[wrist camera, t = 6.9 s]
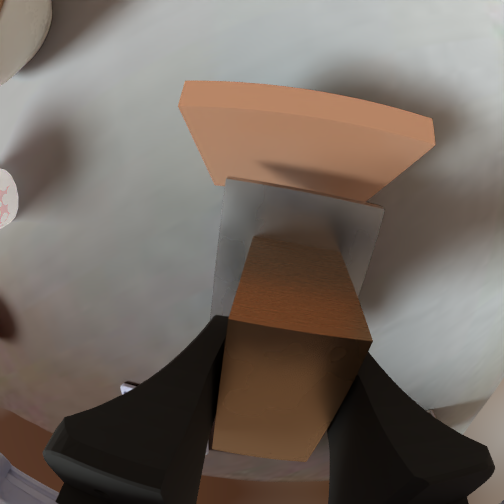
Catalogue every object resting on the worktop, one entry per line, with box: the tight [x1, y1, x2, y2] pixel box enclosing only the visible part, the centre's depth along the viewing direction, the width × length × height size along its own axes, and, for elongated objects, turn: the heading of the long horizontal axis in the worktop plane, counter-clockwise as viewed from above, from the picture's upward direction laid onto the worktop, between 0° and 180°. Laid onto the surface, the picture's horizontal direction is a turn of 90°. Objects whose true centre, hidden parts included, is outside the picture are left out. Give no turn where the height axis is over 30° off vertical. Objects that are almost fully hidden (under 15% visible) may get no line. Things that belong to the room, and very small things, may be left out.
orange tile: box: [178, 81, 436, 202], centre depth 12 cm, size 1×8×8 cm, turn 84°
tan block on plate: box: [210, 176, 385, 462], centre depth 11 cm, size 10×6×6 cm, turn 171°
